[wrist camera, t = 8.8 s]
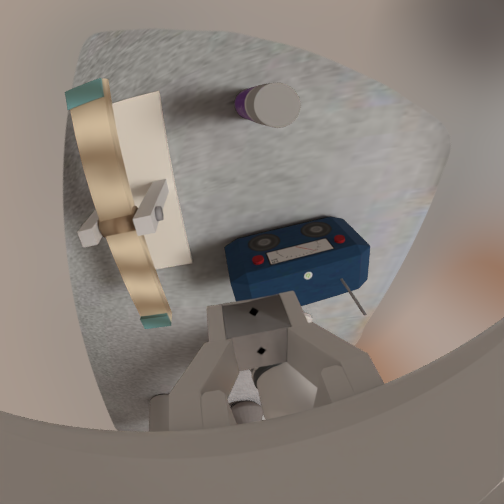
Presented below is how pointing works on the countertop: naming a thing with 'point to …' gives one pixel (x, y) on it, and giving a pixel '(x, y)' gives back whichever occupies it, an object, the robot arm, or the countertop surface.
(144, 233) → the stand
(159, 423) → the cylinder vase
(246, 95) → the container
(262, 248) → the radio
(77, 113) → the beam
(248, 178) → the countertop surface
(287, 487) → the robot arm
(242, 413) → the coffee pot
